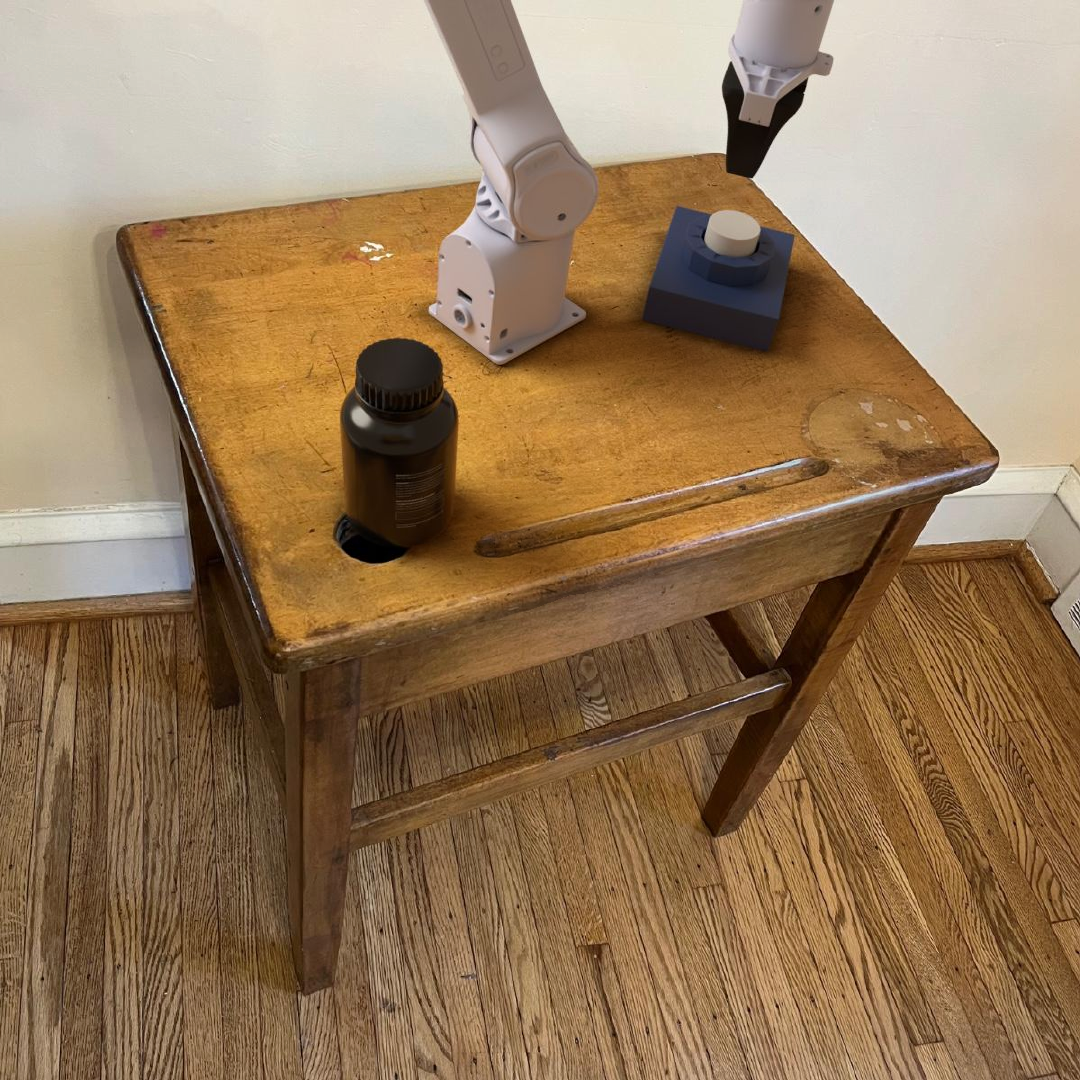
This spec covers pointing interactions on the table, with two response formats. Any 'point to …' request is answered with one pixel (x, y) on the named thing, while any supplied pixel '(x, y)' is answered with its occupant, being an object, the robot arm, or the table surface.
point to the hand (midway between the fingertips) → (740, 171)
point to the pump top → (732, 233)
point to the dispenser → (718, 284)
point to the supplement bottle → (399, 445)
